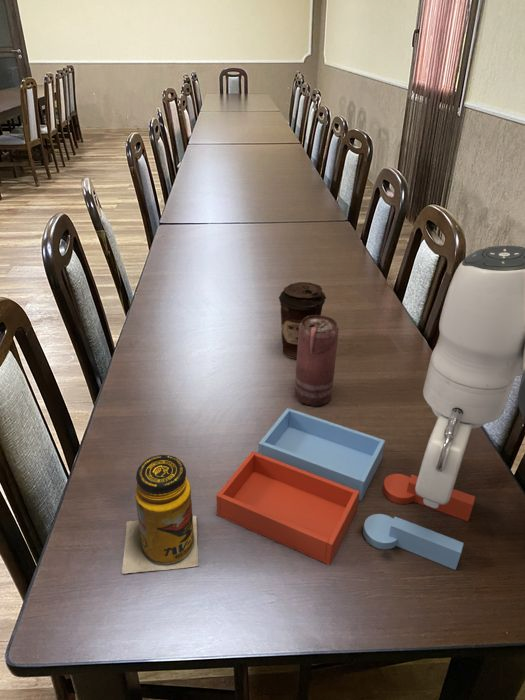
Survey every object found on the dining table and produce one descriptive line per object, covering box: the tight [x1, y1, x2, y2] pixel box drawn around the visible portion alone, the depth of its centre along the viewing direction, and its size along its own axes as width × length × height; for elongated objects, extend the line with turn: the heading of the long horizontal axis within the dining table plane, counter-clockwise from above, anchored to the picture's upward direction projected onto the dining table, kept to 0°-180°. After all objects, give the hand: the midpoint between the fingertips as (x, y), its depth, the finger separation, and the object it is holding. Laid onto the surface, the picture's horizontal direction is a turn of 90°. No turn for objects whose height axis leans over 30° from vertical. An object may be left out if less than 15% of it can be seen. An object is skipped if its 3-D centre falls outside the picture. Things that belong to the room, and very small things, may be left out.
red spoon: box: [382, 473, 476, 522], centre depth 69 cm, size 11×4×3 cm, turn 62°
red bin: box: [215, 450, 359, 566], centre depth 67 cm, size 15×9×4 cm, turn 62°
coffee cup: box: [278, 281, 327, 360], centre depth 98 cm, size 9×8×13 cm
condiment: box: [121, 454, 199, 575], centre depth 60 cm, size 7×8×12 cm
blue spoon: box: [362, 513, 464, 571], centre depth 63 cm, size 11×4×3 cm, turn 62°
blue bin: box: [258, 407, 386, 502], centre depth 75 cm, size 15×9×4 cm, turn 62°
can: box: [294, 314, 340, 407], centre depth 86 cm, size 6×6×14 cm
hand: (439, 477), depth 67 cm, fingers open, 8 cm apart
